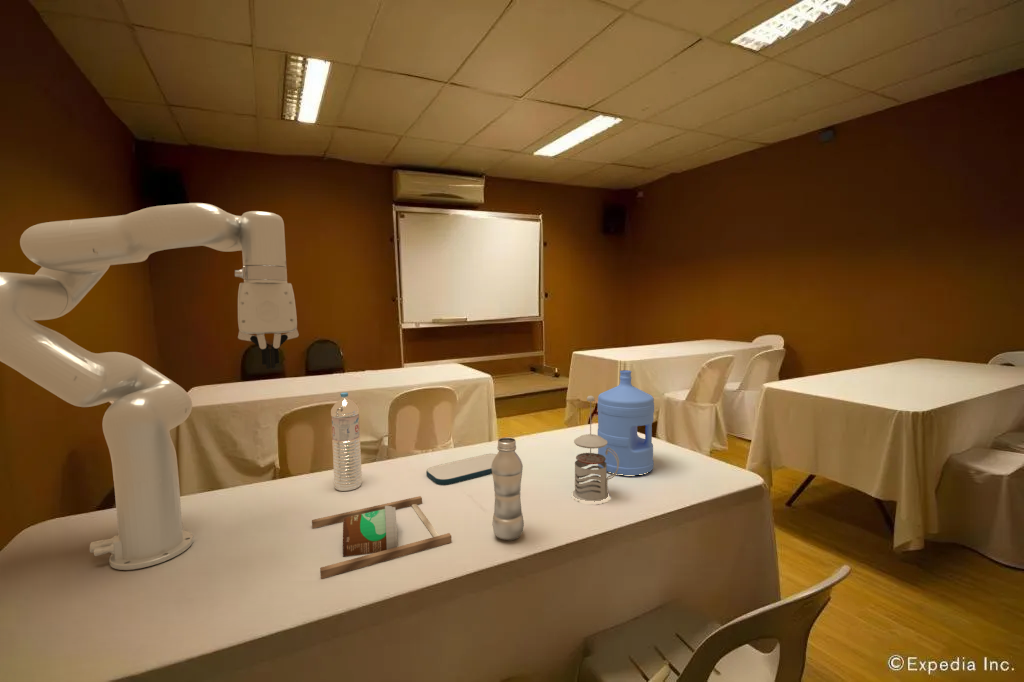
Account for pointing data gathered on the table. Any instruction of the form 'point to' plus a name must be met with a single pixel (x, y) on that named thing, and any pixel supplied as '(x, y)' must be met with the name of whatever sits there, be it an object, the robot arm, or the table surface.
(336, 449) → the water bottle
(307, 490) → the table surface
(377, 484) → the table surface
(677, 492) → the table surface
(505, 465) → the plastic bottle
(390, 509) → the food container
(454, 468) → the external hard drive
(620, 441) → the water jug
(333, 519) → the wooden frame
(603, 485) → the french press
